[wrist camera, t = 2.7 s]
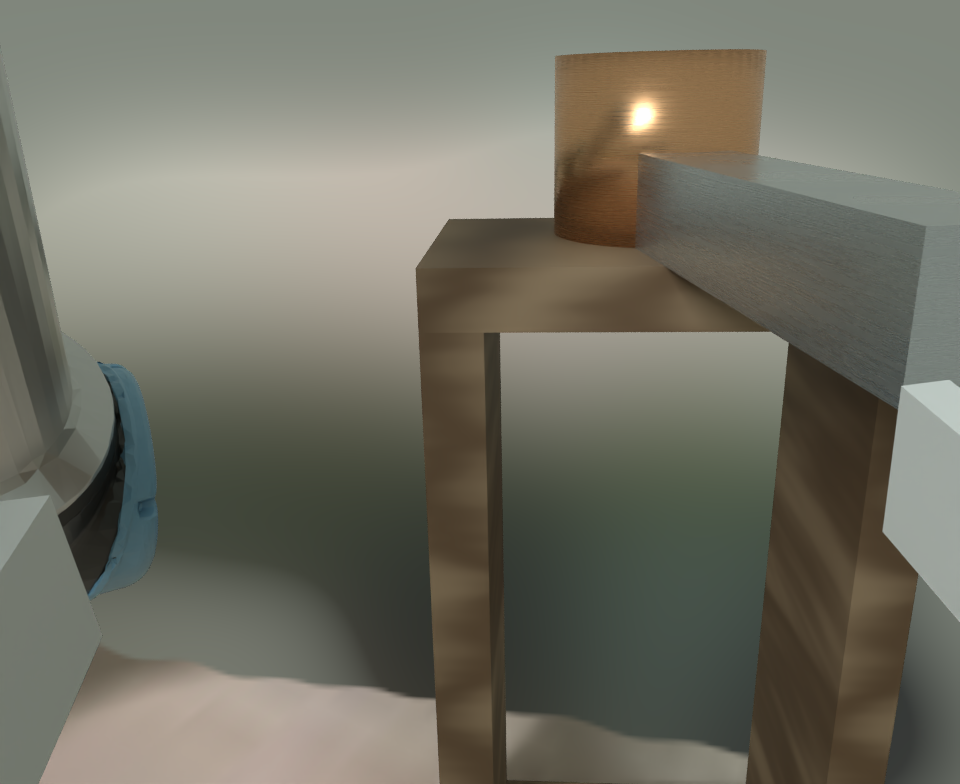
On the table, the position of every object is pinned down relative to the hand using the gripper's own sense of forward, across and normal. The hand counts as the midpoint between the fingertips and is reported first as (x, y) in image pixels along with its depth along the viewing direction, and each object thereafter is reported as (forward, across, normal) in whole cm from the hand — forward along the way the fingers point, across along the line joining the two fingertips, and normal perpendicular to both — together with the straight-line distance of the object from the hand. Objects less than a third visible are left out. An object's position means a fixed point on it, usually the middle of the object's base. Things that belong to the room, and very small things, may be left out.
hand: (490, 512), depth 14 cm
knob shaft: (+12, +8, -1) cm, 14 cm away
